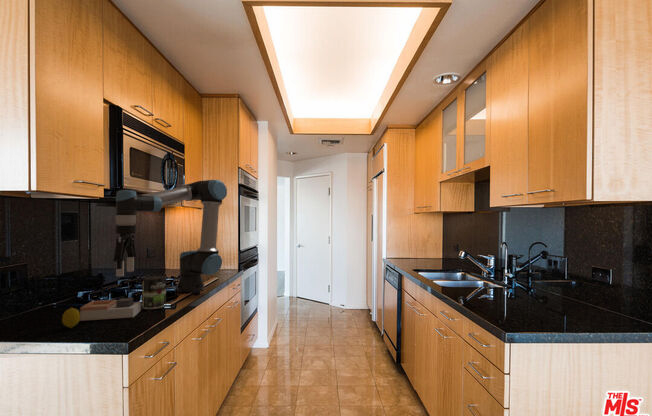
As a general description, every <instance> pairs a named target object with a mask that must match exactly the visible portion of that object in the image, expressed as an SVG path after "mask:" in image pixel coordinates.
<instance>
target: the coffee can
mask: <svg viewBox="0 0 652 416" xmlns="http://www.w3.org/2000/svg"><path fill="white" fill-rule="evenodd" d="M141 281H142V300H141V309H143V310H155V309H156V310H157V309H161V308H164V307H165V306H164V304H165V303H166V304H167V275H164V274H163V275H160V274H159V275H158V274H157V275H148V276H144V277H142V280H141Z"/></svg>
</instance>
